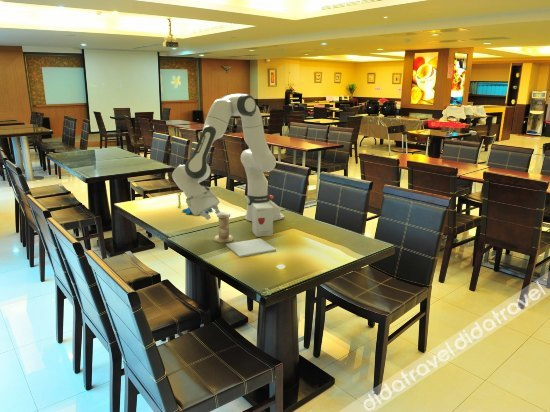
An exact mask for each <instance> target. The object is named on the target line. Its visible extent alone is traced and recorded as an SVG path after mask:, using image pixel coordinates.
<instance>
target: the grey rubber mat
mask: <svg viewBox="0 0 550 412" xmlns="http://www.w3.org/2000/svg"><path fill="white" fill-rule="evenodd" d="M225 246H226V247H227V248H229V249H230V250H231V251H232V253H234V254H235V255H236V256H237V257H238V258H243V257H244V258H245V257H250V256H255V255H260V254H266V253H272V252H276V251H277V249H276V248H274V247H273V246H272V245H271V244H269V243H268V242H266V241H265V240H264V239H262V238H260V237H259V238H256V239H250V240H249V239H248V240H242V241H236V242H228V243H225Z"/></svg>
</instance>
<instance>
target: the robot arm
mask: <svg viewBox="0 0 550 412" xmlns="http://www.w3.org/2000/svg"><path fill="white" fill-rule="evenodd" d="M232 117H240V118H241V119H240V120H241V125H242V132H243V139H244V142H245V144H246V145H247V147H248V149H245V150H242V153H241V154H240V162H241V164H242V166H243V167H244V172H245V175H246V180H247V194H246V204H247V205H246V206H247V207H246V213H245V216H244V219H245V220H246V221H249V222H252V219H253V204H264V203H269V204H270V205H271V206H272V207H273V222H274V221H279V220H282V219H283V220H284V219H285V215H284V214H283V213H281V210H280V207H279V206H278V205H277V204H276V203H275V202H274V201H272V200H273V199H274V195H272V194H269V193H268V179H267V178H266V176H265V173H266V172H268V173H269V172H272V171H273V170H274V169H275V167H276V166H277V165H276V164H277V160H276V159H277V158H276V157H275V155H274V154H273V153H272V152H271V150H270V147H269V145H268V142H267V140H266V136H265V129H264V124H263V116H262V114H261V110H260V108H259V106H258V105H257V103H256V100H255V98H254V97H253V95H252V94H247V93H231V94H226V95H224V96H222V97H220V98H217V99H215V100H214V101H213V103H212V105H211V106H210V108H209V110H208V112H207V114H206V118H205V121H204V125H203V128H202V131H201V135H200V138H198V142H197V143H196V147H195V149H194V152H193V153H192V155H191V156H190V157H189V158H188V159H187V160H186V162H185V164H179V165H178V166H176V167H175V168H174V169H173V171H172V174H171V178H172V179H173V181H174V183H175V185H176V186H177V187H178V189H180V191H182V192H183V194H184V195H185V197H186V199H185V203H186V205H187V208H188V207H189V209H190V210H191V212H192V213H193V214H192V215H193V216H194V215H198V214H200V215H199V216H201V217H203V218H205V220H206V221H207V220H208V221H209V220H210V219H211V218H212V217H211V216H210V214H206V213H205V211H207V210H209V209H212V210H215V214H216V215H217V214H218V213H221V211H220V208H219V206H218V205H219V204H220V200H219V198H218V196H217V195H216V194H215V193H214V192H213V191H212V189H211V188H210V187H209V186H205V185H201V184H200V183H202V182H204V181H206V180H207V179H208V178H209V177H210V176H211V173H212V171H211V170H212V169H211V167H210V165H209V164H208V163H207V159H208V155H209V153H210V150H211V148H212V145H213V143H214V142H215V141H217V140H218V139H222V138H223V136H224V134H225V132H226V131H227V127H228V125H229V122H230V118H232Z"/></svg>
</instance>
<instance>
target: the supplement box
mask: <svg viewBox="0 0 550 412" xmlns="http://www.w3.org/2000/svg"><path fill="white" fill-rule="evenodd" d="M251 222H252V224H251V225H252V228H251V230H252V233H253V234H254V236H255V237H258V238H260V237H273V236H274V221H273V207H272V206H271V205H270V204H269V203H264V204H253V219H252V221H251Z"/></svg>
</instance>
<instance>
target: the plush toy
mask: <svg viewBox="0 0 550 412" xmlns="http://www.w3.org/2000/svg"><path fill="white" fill-rule="evenodd" d="M212 211H213V208H211V209H209V210H207V211H205V213H206V214H207V215H209V213H210V212H212ZM181 212H182V213H185V215H187V216H190V215H193V216H195V217H198V216H201V215H200V214H198V215H194V214H193V213H192V212H191V210H190V209H189V207H188V206H187V208H184V209H182V211H181Z"/></svg>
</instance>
